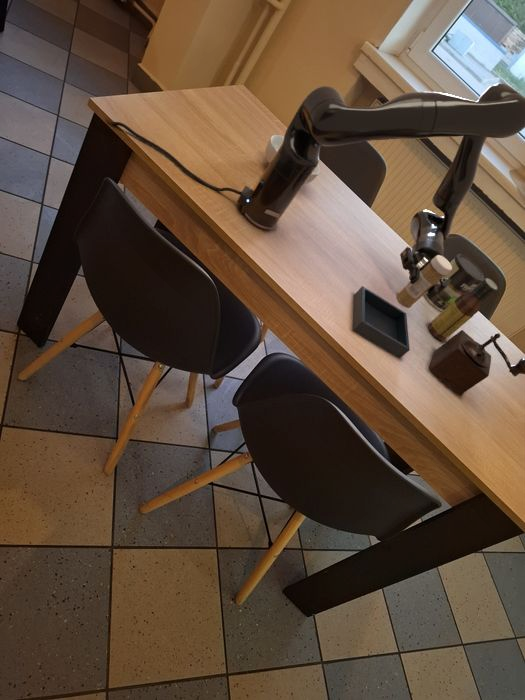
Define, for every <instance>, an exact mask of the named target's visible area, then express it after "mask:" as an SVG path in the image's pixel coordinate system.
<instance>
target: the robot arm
mask: <svg viewBox="0 0 525 700" xmlns="http://www.w3.org/2000/svg"><path fill="white" fill-rule="evenodd" d="M109 124H110V125H111V126H120V127H122V128H124V129H125V130H127V131H128V132H129V133H130V134H132V135H133V136H134V137H136V138H137V139H139V140H141V141H142V142H144V143H146V144H148V145H150V146H152V147H153V148H155V149H157V150H158V151H159V152H161V153H163V154H164V155H165V156H167V157H168V158H170V159H171V160H172V161H173V162H174V163H175V164H176V165H177V166H178V167H179V168H181V170H183V172H185V173H186V174H187V175H189V176H190V177H192V178H193V179H195V180H196V181H198V182H199V183H201V184H202V185H203V186H205V187H206V188H209V189H211V190H213V191H217V192H225V191H227V192H231V193H235V194H237V195H239V196H238V199H237V203H238V204H240V205H241V206H242V207H241V210H240V213H241V214H243V215H244V217H245V218H246V219H247V220H248V221H249V222H250V223H251V224H253V225H254V226H255V227H258V228H260V229H262V230H266V231H270V230H273V229H274V228H275V227H276V225H277V224H278V222H279V221H280V219H281V218H282V216H283V215H284V213H285V212H286V211H287V210H288V208H289V207H290V205H291V203H292V202H293V201H294V200H295V198H296V196H297V195H298V194H299V192H300V191H301V190H302V188H303V187H304V185H306V184H305V182H306V181H307V179H308V178H309V177H310V175H311V174H312V172H313V171H314V170H315V168H316V167H317V165H319V163H320V151H321V146H322V147H338V146H345V145H352V144H357V143H361V142H362V143H363V142H370V141H387V140H415V139H417V140H418V139H430V138H452V137H461V138H462V139H461V141H460V143H459V146H458V148H457V151H456V153H455V156H454V157H453V159H452V161H451V164H450V166H449V168H448V170H447V172H446V174H445V175H444V177H443V179H442V180H441V182H440V184H439V185H438V188H437V189H436V191H435V193H434V194H433V196H432V200H431V201H432V204H433V205H434V207H436V208H437V209H438V210H439V211H441V212H442V214H443V216H442V215H439V214H437V213H434V212H432V211H430V210H427V209H421V210H418V211H417V212H416V213H415V214H414V215H413V217H412V218H411V221H410V228H409V229H410V235H411V237H412V239H413V241H414V243H413V245H412V248H411V247H409V246H406V247H405V248H404V250H402V251H401V253H400V254H399V256H400V260H401V265H402V268H403V269H404V270H405V271H407V270H408V274H409V276H408V279H409V282H410V283H411V284H414V283H415V282H416V281H417V280H418V279H419V276H420V271H422V270H423V269H424V268H425V267H426V266H427V265H428V264H429V263H430V262H431V260H432V259H433V258H434V257H435V256H437V255H441V256H443V257H444V252H445V251H444V250H445V247H444V242H445V241H446V240H447V239H448V238H449V236H450V233H451V230H452V226H453V222H454V219H455V216H456V214H457V211H458V209H459V208H460V206H461V204H462V203H463V201H464V200H465V197H466V196H467V194H468V193H469V191H470V189H471V188H472V185H473V183H474V180H475V177H476V174H477V170H478V166H479V160H480V156H481V153H482V150H483V147H484V145H485V142H486V140H487V138H488V139H489V138H490V139H506V138H510V137H513V136H515V135H517V134H519V133H520V132H522V131H523V130H524V129H525V96H524V95H523V94H521V93H520V92H518V91H517V90H515V89H514V88H513V87H512V86H510V85H508V84H506V83H496V84H493V85H491V86H489V87H488V88H487V89H486V90H485V91H484V92H483V93H482V94H481V95H480V97H479V99H478V100H477V101H475V100H470V99H466V98H462V97H459V96H455V95H452V94H448V93H442V92H436V91H414V92H412V91H411V92H405V93H402V94H399V95H396V96H395V97H393V98H392V99H390V100H388V101H386V102H385V103H382V104H380V105H376V106H366V107H365V106H361V107H360V106H351V105H350V106H349V105H347V103H346V102H345V100H344V99H343V97H342V95H341V93H340V92H339V91H338V90H337V89H336V88H334V87H333V86H330V85H329V86H328V85H322V86H319V87H317V88H314V89H313V90H312V91H311V92H309V93H308V95H307V96H306V97H305V98H304V100H303V101H302V103H300V106H299V107H298V109H297V111H295V114H294V116H293V118H292V119H291V121H290V123H289V124H288V127H287V129H286V130H285V132H284V140H283V143H282V145H281V146H280V148H279V150H278V151H277V153H276V154H275V156H274V158H273V159H272V161H271V162H270V164H269V163H268V165H267V167H266V169H265V170H264V171H263V172H262V173H261V174H260V176H259V178H258V180H257V181H256V183H255V184H254V186H253V187H252V188H250V187H248V186H247V185H245V186H244V187H243V189H242V191H240V190H237V189H235V188H231V187H216V186H214V185H211V184H209V183H208V182H206V181H204V180H203V179H201V178H200V177H199V176H197V175H196V174H194V173H193V172H191V170H189V169H188V168H186V167H185V166H184V165H183V164H182V163H181V162H180V161H179V160H178V159H177V158H176V157H175V156H173V155H172V154H171V153H170V152H168V151H167V150H166V149H164V148H162V146H159V145H158V144H156V143H155V142H153V141H150V140H149V139H147V138H145V137H144V136H142V135H140V134H138V133H137V132H136V131H134V130H133V129H132V128H131V127H130V126H128V125H127V124H125V123H123V122H120V121H112V122H109ZM450 282H451V279H450V278H444V277H442V278H441V279H440V280H439V281H438V282H437V283H436V284H435V285H434V286H433V287H431V288H430V289H429V291H428V292H427V296H428V297H431V296H432V297H433V296H434V295H436V294H439V293H440V292H441V291H442V290H444V289H445V288H446V287H447V286H448V285H449V283H450Z"/></svg>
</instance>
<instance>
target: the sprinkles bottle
mask: <svg viewBox="0 0 525 700" xmlns="http://www.w3.org/2000/svg"><path fill="white" fill-rule="evenodd" d="M450 262H451V261H449V260H448V259H447V258H446V257H445V256H444V255H443V256H441V255H437V256H435V257H434V258H433V259H432V260H431V262H430V263H429V264H428V265H427V266H426V267H425V268H424V269H423V270H422V271H420V276H419V279H418V280H417V281H416V282H415V283H414V284H411V283H410V281H409V282H408V283H407V284H406V285H405V286H404V287H403V288H402V289H401V290H400V291H398V292H397V293H396V294H395V298H396V300H397V301H398V304H400V305H401V306H402V307H404V308H407V309H410V308H411V307H413V305H414V304H415V303H416V302H418V300H421V298H422V297H424V294H425V293H426V292H428V291H429V289H430V288H431V287H433V286H434V285H435V284H436V283H437V282H438V281H439V280H440V279H441V278H442V277H443V276H445V275H447V274H448V273H449V272H450V271H451V270H452V266H451V264H450Z"/></svg>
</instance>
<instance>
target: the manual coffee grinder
mask: <svg viewBox="0 0 525 700" xmlns="http://www.w3.org/2000/svg"><path fill="white" fill-rule="evenodd" d="M500 338H501V333H499V332H496V333H495V334H494V335H491V336H490V338H489V339H488V340H486V341H485V342H484V343H482V344H480V343H479V342H478V341H476V340H475V339H473V338H472V337H471V336H470V335H469V334H468V333H466V331H464V330H463V329H462V330H459V331H458V332H457V333H456V334H455V335H453V336H452V337H450V338H449V339H447V341H445V342H443V344H442V345H440V346H439V347H437V348H436V349H435V350H434V351H433V354H432V357H431V360H430V362H429V365H428V370H429V372H430V373H431V374H432V375H434V376H435V377H436V378H437V379H438V380H439V381H440V382H441V383H442V384H443V385H444V386H445V387H447V388H448V389H449V390H451V391H452V392H453V393H454V394H456V395H458V396H459V397H461V396H462V395H463V394H464V393H466V392H467V391H469V390H470V389H472V388H473V387H475V386H476V385H478V384H479V383H480V382H482V381H483V380H485V379H487V378H488V377H489V375H490V370H491V364H492V363H491V362H492V355H491V354H490V353H489V352H488V351H487V350H486V349H485V348H486V347H488V346H489V345H490V344H492V343H493V346H494V347H495V349H496V350H497V352H498V353H499V354H500V356H501V357H502V359H503V360H504V362H505V364H506V367H507V368H508V370H509V371H508V372H509V373H511V375H512V376H513V377H514V378H515V377H517V376H518V375H525V357H522V358H520V359H519V360H518V362H517V363H516V364H511V362H510V359H509V358H508V356H507V354H506V353H505V351H504V350H503V349H502V348H501V347H500V345H499V344H498V342H497V340H498V339H500Z"/></svg>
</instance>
